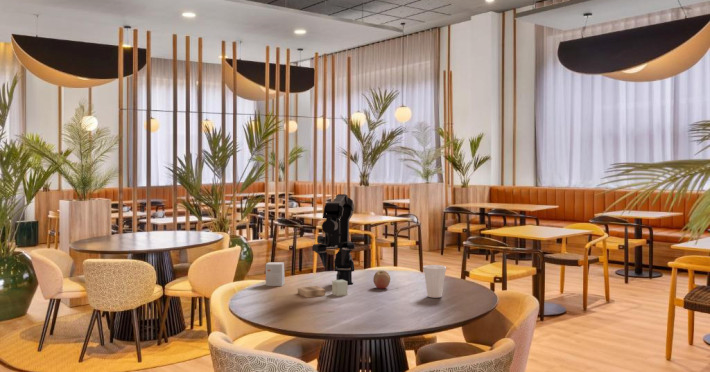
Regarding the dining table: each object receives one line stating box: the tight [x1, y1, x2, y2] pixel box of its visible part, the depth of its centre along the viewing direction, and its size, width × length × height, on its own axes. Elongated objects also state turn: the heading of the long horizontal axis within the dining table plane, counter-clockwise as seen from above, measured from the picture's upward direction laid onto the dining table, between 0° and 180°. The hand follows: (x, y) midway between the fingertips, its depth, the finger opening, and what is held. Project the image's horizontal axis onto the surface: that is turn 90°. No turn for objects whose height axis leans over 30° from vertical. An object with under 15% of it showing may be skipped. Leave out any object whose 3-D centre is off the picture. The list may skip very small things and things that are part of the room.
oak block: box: [297, 285, 326, 299], centre depth 258 cm, size 9×9×3 cm
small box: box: [265, 261, 285, 287], centre depth 280 cm, size 8×6×10 cm
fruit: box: [372, 270, 391, 290], centre depth 271 cm, size 8×8×8 cm
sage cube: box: [331, 279, 349, 297], centre depth 259 cm, size 5×5×6 cm
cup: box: [422, 264, 447, 299], centre depth 253 cm, size 10×10×13 cm
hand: (333, 266), depth 259 cm, fingers open, 9 cm apart
